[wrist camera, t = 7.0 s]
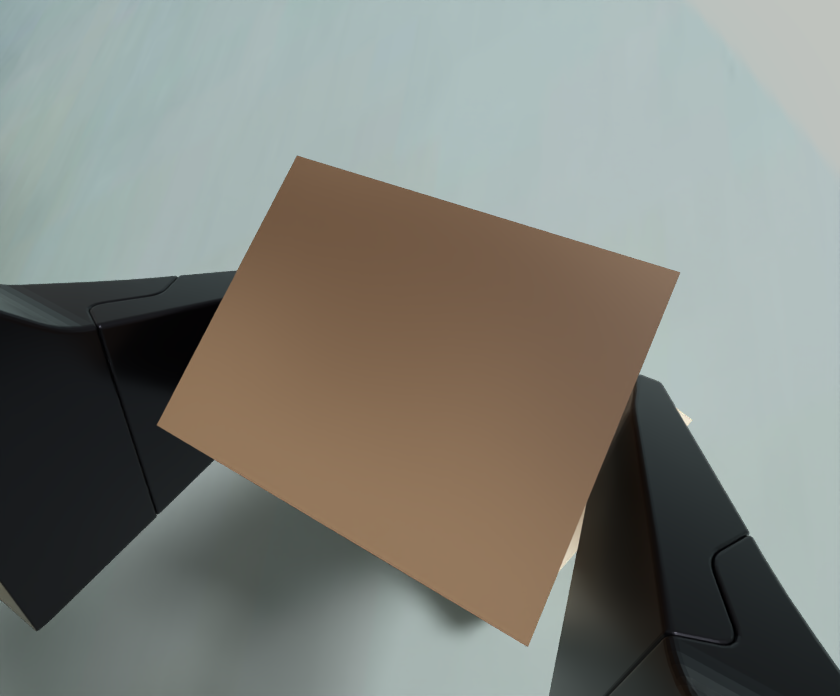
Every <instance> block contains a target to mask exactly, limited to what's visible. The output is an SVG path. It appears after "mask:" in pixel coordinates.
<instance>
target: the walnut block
mask: <svg viewBox="0 0 840 696" xmlns="http://www.w3.org/2000/svg"><path fill="white" fill-rule="evenodd" d="M679 274H680V272H677V271H674V270H670V269H667V268H664V267H660V266H657V265H654V264H651V263H647V262H644V261H641V260H637V259H634V258H631V257H628V256H624V255H621V254H618V253H615V252H611V251H608V250H605V249H601V248H598V247H595V246H592V245H588V244H585V243H582V242H578V241H575V240H572V239H569V238H565V237H562V236H559V235H555V234H552V233H549V232H546V231H542V230H539V229H536V228H533V227H529V226H526V225H523V224H519V223H516V222H513V221H510V220H506V219H503V218H500V217H496V216H493V215H490V214H487V213H483V212H480V211H477V210H473V209H470V208H467V207H464V206H460V205H457V204H454V203H451V202H447V201H444V200H441V199H437V198H434V197H431V196H428V195H424V194H421V193H418V192H414V191H411V190H408V189H405V188H401V187H398V186H395V185H391V184H388V183H385V182H382V181H378V180H375V179H372V178H369V177H365V176H362V175H359V174H355V173H352V172H349V171H346V170H342V169H339V168H336V167H332V166H329V165H326V164H323V163H319V162H316V161H313V160H309V159H306V158H303V157H300V156H297V157H296V159H295V161H294V162H293V164H292V166H291V168H290V170H289V172H288V174H287V176H286V178H285V180H284V182H283V184H282V186H281V187H280V189H279V191H278V193H277V195H276V197H275V199H274V201H273V203H272V205H271V207H270V209H269V210H268V212H267V214H266V216H265V218H264V220H263V222H262V224H261V226H260V228H259V230H258V232H257V234H256V235H255V237H254V239H253V241H252V243H251V245H250V247H249V249H248V251H247V253H246V255H245V257H244V259H243V260H242V262H241V264H240V266H239V268H238V270H237V272H236V274H235V276H234V278H233V280H232V282H231V283H230V285H229V287H228V289H227V291H226V293H225V295H224V297H223V299H222V301H221V303H220V305H219V307H218V308H217V310H216V312H215V314H214V316H213V318H212V320H211V322H210V324H209V326H208V328H207V330H206V331H205V333H204V335H203V337H202V339H201V341H200V343H199V345H198V347H197V349H196V351H195V353H194V355H193V356H192V358H191V360H190V362H189V364H188V366H187V368H186V370H185V372H184V374H183V376H182V378H181V380H180V381H179V383H178V385H177V387H176V389H175V391H174V393H173V395H172V397H171V399H170V401H169V403H168V404H167V406H166V408H165V410H164V412H163V414H162V416H161V418H160V420H159V422H158V424H157V426H159V427H161V428H162V429H164V430H166V431H167V432H169V433H171V434H172V435H174V436H176V437H177V438H179V439H181V440H182V441H184V442H186V443H187V444H189V445H191V446H192V447H194V448H196V449H198V450H199V451H201V452H203V453H204V454H206V455H208V456H209V457H211V458H213V459H214V460H216V461H218V462H219V463H221V464H223V465H224V466H226V467H228V468H229V469H231V470H233V471H234V472H236V473H238V474H239V475H241V476H243V477H244V478H246V479H248V480H249V481H251V482H253V483H254V484H256V485H258V486H259V487H261V488H263V489H264V490H266V491H268V492H269V493H271V494H273V495H274V496H276V497H278V498H280V499H281V500H283V501H285V502H286V503H288V504H290V505H291V506H293V507H295V508H296V509H298V510H300V511H301V512H303V513H305V514H306V515H308V516H310V517H311V518H313V519H315V520H316V521H318V522H320V523H321V524H323V525H325V526H326V527H328V528H330V529H331V530H333V531H335V532H336V533H338V534H340V535H341V536H343V537H345V538H346V539H348V540H350V541H351V542H353V543H355V544H356V545H358V546H360V547H362V548H363V549H365V550H367V551H368V552H370V553H372V554H373V555H375V556H377V557H378V558H380V559H382V560H383V561H385V562H387V563H388V564H390V565H392V566H393V567H395V568H397V569H398V570H400V571H402V572H403V573H405V574H407V575H408V576H410V577H412V578H413V579H415V580H417V581H418V582H420V583H422V584H423V585H425V586H427V587H428V588H430V589H432V590H433V591H435V592H437V593H438V594H440V595H442V596H444V597H445V598H447V599H449V600H450V601H452V602H454V603H455V604H457V605H459V606H460V607H462V608H464V609H465V610H467V611H469V612H470V613H472V614H474V615H475V616H477V617H479V618H480V619H482V620H484V621H485V622H487V623H489V624H490V625H492V626H494V627H495V628H497V629H499V630H500V631H502V632H504V633H505V634H507V635H509V636H510V637H512V638H514V639H515V640H517V641H519V642H520V643H522V644H524V645H526V646H527V647H528V645H529V643H530V640H531V638H532V636H533V633H534V631H535V628H536V626H537V623H538V621H539V618H540V616H541V613H542V611H543V609H544V606H545V604H546V601H547V599H548V596H549V594H550V591H551V589H552V586H553V584H554V581H555V579H556V577H557V574H558V572H559V569H560V567H561V564H562V562H563V559H564V557H565V554H566V552H567V550H568V547H569V545H570V542H571V540H572V537H573V535H574V532H575V530H576V527H577V525H578V523H579V520H580V518H581V515H582V513H583V510H584V508H585V505H586V503H587V500H588V498H589V496H590V493H591V491H592V488H593V486H594V483H595V481H596V478H597V476H598V473H599V471H600V468H601V466H602V464H603V461H604V459H605V456H606V454H607V451H608V449H609V446H610V444H611V441H612V439H613V437H614V434H615V432H616V429H617V427H618V424H619V422H620V419H621V417H622V414H623V412H624V410H625V407H626V405H627V402H628V400H629V397H630V395H631V392H632V390H633V387H634V385H635V382H636V380H637V378H638V375H639V373H640V370H641V368H642V365H643V363H644V360H645V358H646V355H647V353H648V351H649V348H650V346H651V343H652V341H653V338H654V336H655V333H656V331H657V328H658V326H659V324H660V321H661V319H662V316H663V314H664V311H665V309H666V306H667V304H668V301H669V299H670V296H671V294H672V292H673V289H674V287H675V284H676V282H677V279H678V277H679Z"/></svg>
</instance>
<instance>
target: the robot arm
mask: <svg viewBox="0 0 840 696" xmlns="http://www.w3.org/2000/svg"><path fill="white" fill-rule="evenodd" d="M236 272H237V271H226V272H215V273H204V274H193V275H181V276H179V277H177V276H169V277H158V278H145V279H132V280H115V281H97V282H75V283H52V284H28V285H3V284H0V600H1V601H3V602H4V603H5V604H6V605H7V606H8V607H9V608H10V609H12V610H13V611H14V612H15V613H16V614H17V615H18V616H19V617H21V618H22V619H23V620H24V621H25V622H26V623H27V624H28V625H30V626H31V627H32V628H33V629H34V630H35V631H38V630H39V629H41V628H42V627H43V626H44V625H45V624H47V623H48V622H49V621H50V620H51V619H52V618H53V617H54V616H55V615H56V614H57V613H58V612H59V611H60V610H61V609H62V608H63V607H65V606H66V605H67V604H68V603H69V602H70V601H71V600H72V599H73V598H74V597H75V596H76V595H77V594H78V593H79V592H80V591H81V590H82V589H83V588H84V587H85V586H86V585H87V584H88V583H89V582H90V581H91V580H92V579H93V578H94V577H95V576H96V575H97V574H98V573H99V572H100V571H101V570H102V569H103V568H104V567H105V566H106V565H108V564H109V563H110V562H111V561H112V560H113V559H114V558H115V557H116V556H117V555H118V554H119V553H120V552H121V551H122V550H123V549H124V548H125V547H126V546H127V545H128V544H129V543H130V542H131V541H132V540H133V539H134V538H135V537H136V536H137V535H138V534H139V533H140V532H141V531H142V530H143V529H144V528H146V527H147V526H148V525H149V524H150V523H151V522H152V521H153V520H154V519H155V518H156V516H157V514H159V513H161V512H162V511H163V510H164V509H165V508H166V507H167V506H168V505H169V504H170V503H171V502H172V501H173V500H174V499H175V498H176V497H177V496H178V495H179V494H180V493H181V492H182V491H183V490H184V489H185V488H186V487H187V486H188V485H189V484H190V483H191V482H192V481H193V480H194V479H195V478H196V477H197V476H198V475H199V474H200V473H202V472H203V471H204V470H205V469H206V468H207V467H208V466H209V465H210V464H211V463H212V462H213V461H214V459H213V458H211V457H209V456H208V455H206V454H204V453H203V452H201V451H199V450H198V449H196V448H194V447H192V446H191V445H189V444H187V443H186V442H184V441H182V440H181V439H179V438H177V437H176V436H174V435H172V434H171V433H169V432H167V431H166V430H164V429H162V428H161V427H159V426H157V424H158V422H159V420H160V418H161V416H162V414H163V412H164V410H165V408H166V406H167V404H168V403H169V401H170V399H171V397H172V395H173V393H174V391H175V389H176V387H177V385H178V383H179V381H180V380H181V378H182V376H183V374H184V372H185V370H186V368H187V366H188V364H189V362H190V360H191V358H192V356H193V355H194V353H195V351H196V349H197V347H198V345H199V343H200V341H201V339H202V337H203V335H204V333H205V331H206V330H207V328H208V326H209V324H210V322H211V320H212V318H213V316H214V314H215V312H216V310H217V308H218V307H219V305H220V303H221V301H222V299H223V297H224V295H225V293H226V291H227V289H228V287H229V285H230V283H231V282H232V280H233V278H234V276H235V274H236ZM748 535H749V531H748V529H747V527H746V526H745V524H744V522H743V521H742V519H741V517H740V515H739V514H738V512H737V510H736V509H735V507H734V505H733V504H732V502H731V500H730V498H729V497H728V495H727V493H726V492H725V490H724V488H723V487H722V485H721V483H720V481H719V480H718V478H717V476H716V475H715V473H714V471H713V470H712V468H711V466H710V464H709V463H708V461H707V459H706V458H705V456H704V454H703V453H702V451H701V449H700V447H699V446H698V444H697V442H696V441H695V439H694V437H693V436H692V434H691V432H690V430H689V429H688V427H687V425H686V424H685V422H684V420H683V419H682V417H681V415H680V413H679V412H678V410H677V408H676V407H675V405H674V403H673V402H672V400H671V398H670V396H669V395H668V393H667V391H666V390H665V388H664V386H663V385H662V383H660V382H659V381H656V380H654V379H651V378H648V377H646V376H643V375H638V378H637V380H636V382H635V385H634V387H633V390H632V392H631V395H630V397H629V400H628V402H627V405H626V407H625V410H624V412H623V414H622V417H621V419H620V422H619V424H618V427H617V429H616V432H615V434H614V437H613V439H612V441H611V444H610V446H609V449H608V451H607V454H606V456H605V459H604V461H603V464H602V466H601V468H600V471H599V473H598V476H597V478H596V481H595V483H594V486H593V488H592V491H591V493H590V496H589V498H588V500H587V503H586V508H585V513H584V518H583V523H582V528H581V533H580V539H579V544H578V549H577V554H576V559H575V564H574V570H573V575H572V580H571V585H570V590H569V595H568V600H567V606H566V611H565V616H564V621H563V626H562V631H561V636H560V642H559V647H558V652H557V657H556V662H555V667H554V673H553V678H552V683H551V688H550V693H549V696H840V670H839V668H838V667H837V666H836V664H835V663H834V661H833V660H832V659H831V657H830V656H829V654H828V653H827V652H826V650H825V649H824V647H823V646H822V644H821V643H820V642H819V640H818V639H817V637H816V636H815V634H814V633H813V631H812V630H811V628H810V627H809V626H808V624H807V623H806V621H805V620H804V618H803V617H802V615H801V614H800V612H799V611H798V609H797V608H796V606H795V605H794V604H793V602H792V601H791V599H790V598H789V596H788V595H787V593H786V591H785V590H784V588H783V587H782V585H781V583H780V582H779V580H778V579H777V577H776V575H775V574H774V572H773V570H772V569H771V567H770V566H769V564H768V562H767V561H766V559H765V558H764V556H763V554H762V552H761V551H760V549H759V547H758V546H757V544H756V542H755V541H754V539H753V537H751V536H748Z"/></svg>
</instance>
